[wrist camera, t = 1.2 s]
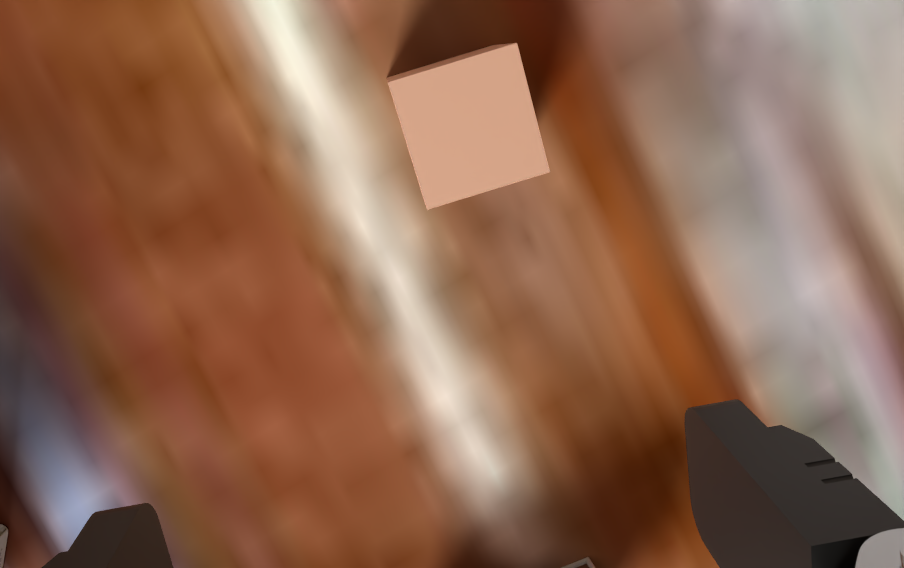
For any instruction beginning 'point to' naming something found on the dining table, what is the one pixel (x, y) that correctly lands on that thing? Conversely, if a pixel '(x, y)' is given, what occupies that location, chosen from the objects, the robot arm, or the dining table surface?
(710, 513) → the robot arm
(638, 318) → the dining table surface
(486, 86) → the light pinkish-tan block
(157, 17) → the dining table surface
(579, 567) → the food container
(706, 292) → the dining table surface
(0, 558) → the coffee box
